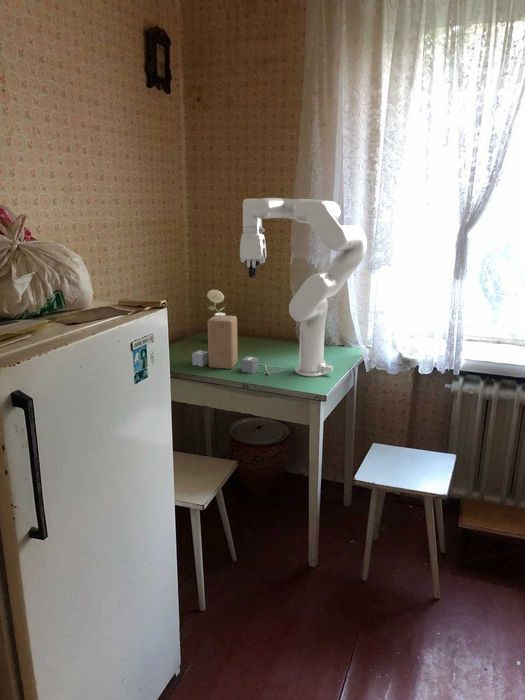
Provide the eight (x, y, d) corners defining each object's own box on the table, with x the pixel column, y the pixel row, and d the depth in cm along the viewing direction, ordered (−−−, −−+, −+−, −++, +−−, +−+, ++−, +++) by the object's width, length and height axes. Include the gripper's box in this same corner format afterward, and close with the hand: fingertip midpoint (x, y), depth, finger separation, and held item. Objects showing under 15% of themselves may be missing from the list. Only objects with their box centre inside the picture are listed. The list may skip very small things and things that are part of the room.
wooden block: (232, 369, 209) (231, 321, 203) (208, 368, 211) (206, 319, 205) (238, 362, 218) (237, 315, 212) (215, 360, 220) (214, 314, 214)
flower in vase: (237, 341, 249) (236, 289, 242) (223, 347, 240) (222, 293, 233) (215, 337, 256) (214, 286, 249) (201, 342, 246) (199, 290, 239)
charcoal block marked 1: (258, 370, 209) (258, 357, 207) (252, 373, 205) (252, 361, 203) (247, 368, 211) (247, 355, 210) (241, 371, 207) (241, 359, 205)
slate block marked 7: (209, 363, 217) (209, 351, 215) (202, 366, 213) (202, 354, 211) (199, 361, 219) (198, 349, 217) (192, 365, 215) (192, 352, 213)
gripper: (273, 230, 207) (273, 277, 212) (240, 229, 213) (241, 274, 219) (265, 232, 200) (265, 279, 206) (231, 230, 207) (232, 277, 212)
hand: (252, 277), depth 212 cm, fingers closed
